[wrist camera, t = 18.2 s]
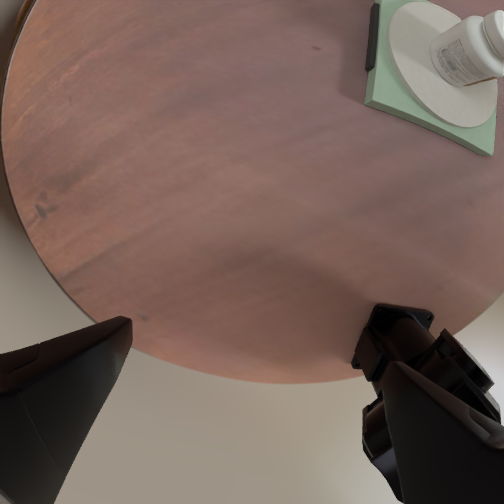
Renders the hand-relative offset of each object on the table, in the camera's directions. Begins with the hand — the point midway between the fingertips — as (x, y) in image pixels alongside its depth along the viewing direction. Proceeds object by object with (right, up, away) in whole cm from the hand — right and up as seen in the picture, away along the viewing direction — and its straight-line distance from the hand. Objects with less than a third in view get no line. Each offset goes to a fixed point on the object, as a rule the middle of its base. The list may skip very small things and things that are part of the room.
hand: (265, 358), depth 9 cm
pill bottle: (+15, +18, +5) cm, 24 cm away
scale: (+15, +19, +7) cm, 25 cm away
